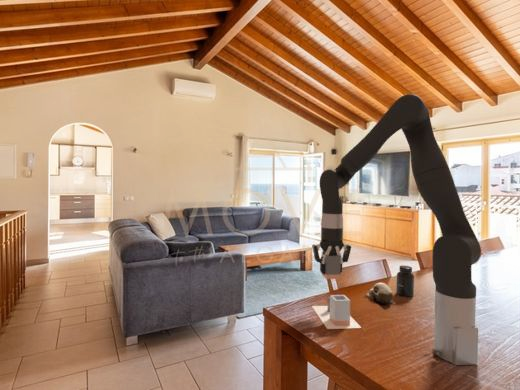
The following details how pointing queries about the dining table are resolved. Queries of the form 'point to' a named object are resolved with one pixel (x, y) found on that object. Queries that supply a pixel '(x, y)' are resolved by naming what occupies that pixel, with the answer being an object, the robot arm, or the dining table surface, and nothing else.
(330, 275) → the charcoal sleeve
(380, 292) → the skull
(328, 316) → the pin board
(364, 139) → the robot arm
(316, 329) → the dining table surface
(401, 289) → the supplement bottle
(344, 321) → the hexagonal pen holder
